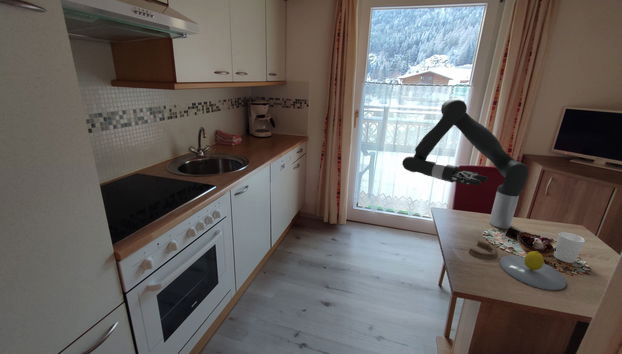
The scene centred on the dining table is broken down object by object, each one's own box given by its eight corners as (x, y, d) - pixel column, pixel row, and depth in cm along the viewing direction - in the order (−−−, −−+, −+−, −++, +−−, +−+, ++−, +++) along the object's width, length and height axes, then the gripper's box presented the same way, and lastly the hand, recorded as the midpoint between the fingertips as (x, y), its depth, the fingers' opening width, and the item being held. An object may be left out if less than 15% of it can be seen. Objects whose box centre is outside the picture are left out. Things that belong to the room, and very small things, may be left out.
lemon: (523, 271, 105) (529, 252, 102) (520, 264, 109) (526, 246, 107) (542, 276, 102) (548, 257, 100) (538, 268, 107) (544, 250, 105)
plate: (507, 251, 119) (507, 249, 119) (569, 274, 106) (570, 272, 105) (492, 269, 106) (493, 267, 106) (561, 298, 92) (562, 296, 92)
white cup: (551, 250, 121) (558, 230, 118) (576, 258, 117) (584, 236, 114) (551, 258, 116) (559, 237, 113) (577, 266, 111) (586, 244, 108)
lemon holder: (478, 243, 124) (479, 239, 124) (498, 251, 119) (500, 247, 118) (468, 252, 117) (469, 248, 116) (490, 261, 111) (491, 257, 111)
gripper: (439, 166, 124) (479, 175, 113) (452, 162, 134) (491, 170, 122) (436, 182, 126) (475, 193, 115) (449, 177, 136) (487, 186, 125)
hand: (483, 181), depth 119 cm, fingers open, 8 cm apart
